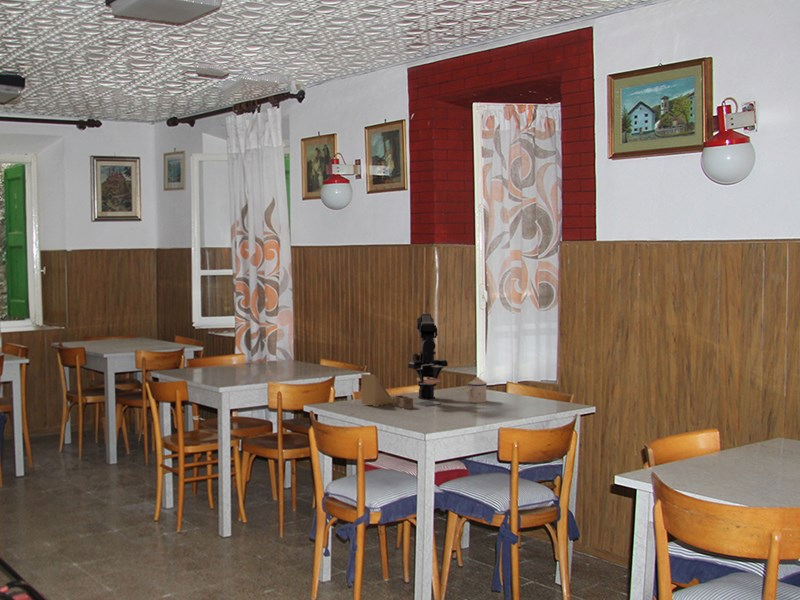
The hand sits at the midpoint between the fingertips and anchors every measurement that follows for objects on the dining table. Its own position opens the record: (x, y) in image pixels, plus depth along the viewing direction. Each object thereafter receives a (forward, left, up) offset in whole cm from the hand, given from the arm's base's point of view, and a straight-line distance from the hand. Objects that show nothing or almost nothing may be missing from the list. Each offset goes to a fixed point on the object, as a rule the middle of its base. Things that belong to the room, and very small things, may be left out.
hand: (428, 382), depth 430 cm
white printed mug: (-22, +7, -11) cm, 25 cm away
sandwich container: (+19, -14, -11) cm, 26 cm away
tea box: (+14, 0, -10) cm, 17 cm away
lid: (0, 0, 0) cm, 1 cm away
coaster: (0, 0, -10) cm, 10 cm away
